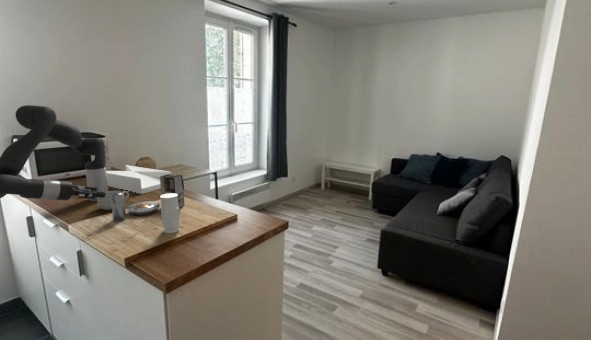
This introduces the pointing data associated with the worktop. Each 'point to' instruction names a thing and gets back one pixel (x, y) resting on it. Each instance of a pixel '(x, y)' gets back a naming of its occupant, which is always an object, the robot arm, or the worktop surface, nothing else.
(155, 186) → the white paper airplane
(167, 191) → the coffee box
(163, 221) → the candle
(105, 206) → the teacup
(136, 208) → the round metal dish
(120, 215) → the gray metal canister
